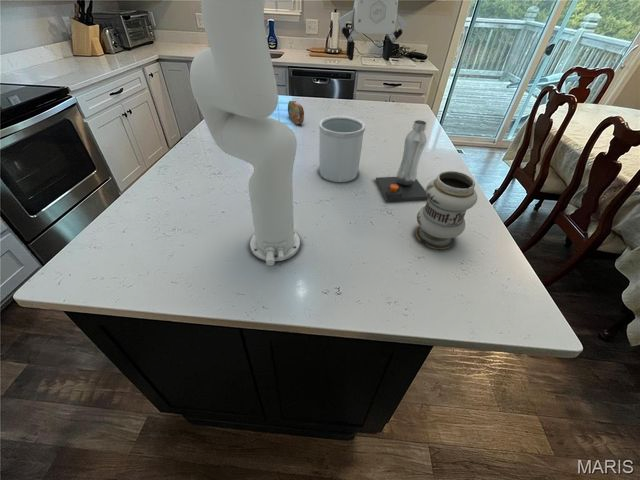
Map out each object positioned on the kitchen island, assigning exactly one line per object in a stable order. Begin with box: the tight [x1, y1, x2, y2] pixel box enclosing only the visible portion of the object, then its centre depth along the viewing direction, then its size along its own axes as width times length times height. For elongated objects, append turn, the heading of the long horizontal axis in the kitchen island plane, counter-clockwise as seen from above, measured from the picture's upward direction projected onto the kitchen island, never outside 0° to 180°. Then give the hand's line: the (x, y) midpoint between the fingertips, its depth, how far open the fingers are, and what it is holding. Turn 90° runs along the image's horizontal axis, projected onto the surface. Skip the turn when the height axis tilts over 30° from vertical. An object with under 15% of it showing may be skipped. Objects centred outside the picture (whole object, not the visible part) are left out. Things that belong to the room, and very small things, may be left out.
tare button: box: [389, 184, 398, 192], centre depth 92 cm, size 3×3×2 cm
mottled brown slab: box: [287, 100, 305, 126], centre depth 138 cm, size 15×3×8 cm, turn 25°
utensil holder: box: [318, 115, 366, 183], centre depth 99 cm, size 15×15×18 cm
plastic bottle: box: [395, 119, 428, 185], centre depth 92 cm, size 6×7×20 cm
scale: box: [374, 176, 428, 203], centre depth 97 cm, size 13×14×3 cm
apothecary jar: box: [415, 170, 478, 250], centre depth 74 cm, size 12×12×18 cm
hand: (368, 59), depth 77 cm, fingers open, 9 cm apart
